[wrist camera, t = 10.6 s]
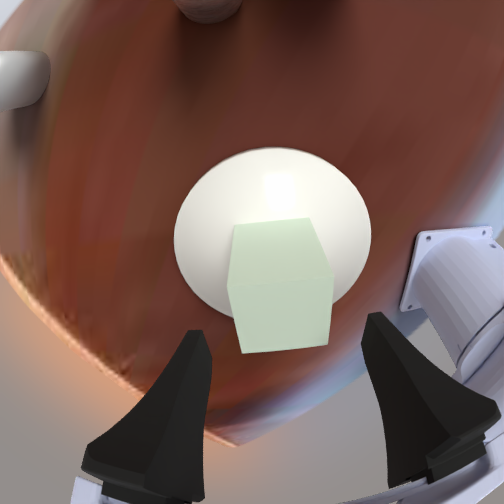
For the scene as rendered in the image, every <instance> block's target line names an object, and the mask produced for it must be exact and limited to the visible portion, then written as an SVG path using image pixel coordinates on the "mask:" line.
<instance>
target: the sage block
mask: <svg viewBox="0 0 504 504" xmlns="http://www.w3.org/2000/svg"><path fill="white" fill-rule="evenodd" d="M333 287H334V274H333V272H332V269H331V267H330V265H329V262H328V260H327V257H326V255H325V253H324V250H323V248H322V246H321V243H320V241H319V239H318V236H317V234H316V232H315V230H314V227H313V225H312V223H311V221H310V218H309V217H306V218H295V219H285V220H275V221H265V222H255V223H246V224H237V225H234V233H233V241H232V249H231V257H230V265H229V273H228V281H227V291H228V295H229V300H230V304H231V309H232V313H233V317H234V322H235V326H236V330H237V334H238V338H239V343H240V347H241V351H242V353H254V352H267V351H278V350H288V349H297V348H306V347H313V346H321V345H328V338H329V329H330V320H331V310H332V299H333Z"/></svg>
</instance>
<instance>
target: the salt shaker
mask: <svg viewBox="0 0 504 504" xmlns="http://www.w3.org/2000/svg"><path fill="white" fill-rule="evenodd" d="M173 1H174V3H175V4H176V5H177V6H178V7H179V9H180V10H181V11H182V12H183V14H184V15H185V16H186V17H187V18H188V19H190V20H192V21H194V22H197V23H203V24H211V23H217V22H221V21H223V20H226V19H228V18H229V17H231V16H232V15H234V14H235V13H236V12H237V11H238V9H239V8H240V6H241V3H242V0H173Z"/></svg>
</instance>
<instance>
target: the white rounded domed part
mask: <svg viewBox="0 0 504 504" xmlns="http://www.w3.org/2000/svg"><path fill="white" fill-rule="evenodd" d="M49 77H50V61H49V58H48V56H47V55H46V54H45V53H43V52H38V51H0V112H3V111H7V110H11V109H15V108H20V107H24V106H29V105H32V104H34V103H35V102H36V101H37V100H38V99H39V98H40V97H41V96H42V94H43V93H44V91H45V89H46V87H47V84H48V81H49Z"/></svg>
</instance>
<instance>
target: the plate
mask: <svg viewBox="0 0 504 504" xmlns="http://www.w3.org/2000/svg"><path fill="white" fill-rule="evenodd" d="M306 217H309V218H310V221H311V223H312V225H313V227H314V230H315V232H316V234H317V236H318V239H319V241H320V243H321V246H322V248H323V250H324V253H325V255H326V257H327V260H328V262H329V265H330V267H331V269H332V272H333V274H334V287H333V299H332V304H333V303H335V302H336V301H337V300H338V299H340V298H341V297H342V296H343V295H344V294H345V293H346V292H347V291H348V290H349V289H350V288H351V286H352V285H353V284H354V283H355V281H356V280H357V278H358V277H359V275H360V273H361V271H362V269H363V267H364V265H365V263H366V260H367V257H368V254H369V249H370V243H371V227H370V219H369V215H368V211H367V208H366V206H365V203H364V201H363V199H362V197H361V195H360V194H359V192H358V191H357V189H356V187H355V186H354V185H353V184H352V183H351V182H350V181H349V179H348V178H347V177H346V176H345V175H343V174H342V173H341V172H340V171H339V170H338V169H336V168H335V167H334V166H333V165H332V164H330V163H328V162H327V161H325V160H324V159H322V158H320V157H318V156H316V155H314V154H311V153H309V152H306V151H302V150H299V149H295V148H288V147H261V148H255V149H249V150H246V151H243V152H240V153H237V154H234V155H232V156H230V157H228V158H226V159H224V160H222V161H221V162H219V163H218V164H216V165H215V166H213V167H212V168H211V169H210V170H208V171H207V172H206V173H205V174H204V175H203V176H202V177H201V178H200V179H199V180H198V182H197V183H196V184H195V185H194V186H193V188H192V189H191V191H190V193H189V194H188V196H187V197H186V199H185V201H184V202H183V204H182V207H181V209H180V211H179V214H178V217H177V221H176V225H175V232H174V249H175V255H176V259H177V263H178V266H179V268H180V271H181V273H182V275H183V277H184V278H185V280H186V282H187V283H188V285H189V286H190V287H191V289H192V290H193V291H194V292H195V293H196V294H197V295H198V296H199V297H200V298H201V299H202V300H203V301H204V302H206V303H207V304H208V305H210V306H211V307H213V308H214V309H216V310H217V311H219V312H221V313H223V314H225V315H228V316H230V317H233V313H232V309H231V304H230V300H229V295H228V291H227V281H228V273H229V265H230V257H231V249H232V241H233V233H234V225H237V224H246V223H255V222H265V221H275V220H285V219H295V218H306ZM233 318H234V317H233Z"/></svg>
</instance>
